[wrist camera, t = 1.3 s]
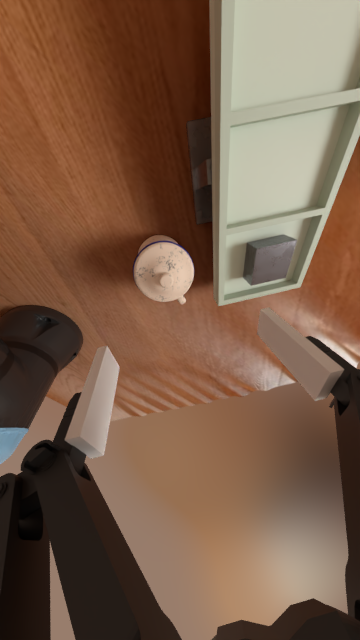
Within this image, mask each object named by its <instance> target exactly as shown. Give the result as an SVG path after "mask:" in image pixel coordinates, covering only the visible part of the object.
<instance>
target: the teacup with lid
mask: <svg viewBox="0 0 360 640" xmlns="http://www.w3.org/2000/svg"><path fill="white" fill-rule="evenodd" d="M133 277H134V281H135V283H136V285H137V287H138V288H139V290H140V291H141V292H142V293H143V294H144V295H145V296H147V297H148V298H150V299H152V300H155V301H160V302H168V301H173V300H175V299H177V300H178V302H179V303H180V304H184V303H185V302H186V299H185V297H184V294H185V293H186V292H187V291H188V289H189V288H190V286H191V284H192V281H193V278H194V264H193V261H192V259H191V257H190V255H189V253H188V252H187V251H186V250H185V249H184V248H183V247H182V246H180V245H179V244H178V243H177V242H176V241H175V240H174V239H172V238H170V237H168V236H165V235H155V236H152V237H150V238H148V239H147V240H145V241H144V242H143V243H142V245H141V246H140V248H139V251H138V255H137V257H136V259H135V261H134V265H133Z"/></svg>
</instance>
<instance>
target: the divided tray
mask: <svg viewBox="0 0 360 640" xmlns="http://www.w3.org/2000/svg"><path fill="white" fill-rule="evenodd" d="M209 5H210V75H211V146H212V216H213V287H214V299H215V301H216V303H217V304H218V306H222V305H226V304H230V303H234V302H239V301H243V300H247V299H252V298H256V297H260V296H265V295H269V294H273V293H277V292H282V291H286V290H290V289H295V288H299V287H301V284H302V282H303V279H304V277H305V274H306V271H307V269H308V266H309V264H310V261H311V259H312V256H313V254H314V251H315V248H316V246H317V243H318V241H319V238H320V236H321V233H322V231H323V228H324V225H325V223H326V220H327V218H328V215H329V213H330V210H331V207H332V205H333V202H334V200H335V197H336V195H337V192H338V190H339V187H340V184H341V182H342V179H343V177H344V174H345V172H346V169H347V166H348V164H349V161H350V159H351V156H352V154H353V151H354V149H355V146H356V143H357V141H358V138H359V136H360V0H209ZM283 234H285V235H287V236H289V237H292V238H294V239H297V243H296V246H295V249H294V253H293V256H292V259H291V262H290V266H289V269H288V272H287V275H286V278H283V279H278V280H274V281H270V282H265V283H261V284H257V285H252V286H251V285H250V284H249V283H248V282H247V281H246V280H245V279H244V278H243V271H244V262H245V254H246V245H247V242H251V241H256V240H260V239H265V238H269V237H274V236H278V235H283Z"/></svg>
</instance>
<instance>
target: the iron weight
mask: <svg viewBox="0 0 360 640" xmlns="http://www.w3.org/2000/svg"><path fill="white" fill-rule="evenodd" d="M296 243H297V239H294V238H292V237H289V236H287V235H285V234H283V235H278V236H274V237H269V238H265V239H260V240H256V241H251V242H247V245H246V254H245V262H244V271H243V278H244V279H245V280H246V281H247V282H248V283H249V284H250V285H251V286H252V285H257V284H261V283H265V282H270V281H274V280H278V279H283V278H286V275H287V272H288V269H289V266H290V262H291V259H292V256H293V253H294V249H295V246H296Z"/></svg>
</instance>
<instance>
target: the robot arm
mask: <svg viewBox="0 0 360 640" xmlns="http://www.w3.org/2000/svg"><path fill="white" fill-rule="evenodd" d="M257 334H258V336H259V337H260V338H261V339H262V340H263V341H264V343H265V344H266V345H267V346H268V347H269V348H270V349H271V351H272V352H273V353H274V354H275V355H276V356H277V358H278V359H279V360H280V361H281V362H282V363H283V364H284V366H285V367H286V368H287V369H288V370H289V371H290V373H291V374H292V375H293V376H294V377H295V378H296V379H297V381H298V382H299V383H300V384H301V385H302V386H303V387H304V389H305V390H306V391H307V392H308V393H309V394H310V396H311V397H312V398H313V399H314V400H315V401H317V400H320V399H324V398H327V397H328V395H329V394H330V392H331V393H332V394H333V395H334V396H335V397H334V399H333V400H332V402H331V404H330V406H329V407H331V408H332V407H333V405H334V409H335V419H336V429H337V439H338V450H339V459H340V470H341V480H342V490H343V501H344V511H345V521H346V531H347V541H348V554H349V556H348V562H347V565H346V572H345V582H346V594H347V606H348V614H346V613H344V612H342V611H340V610H338V609H336V608H333V607H331V606H329V605H325V604H323V603H321V602H320V601H318V600H316V599H310V600H307V601H303V602H300V603H297V604H293V605H290V606H289V607H288V608H287V609H286V611H285V612H284V613H283V614H282V615H281V616H280V617H279V618H278V619H277V620H276V621H275V622H274V623H273V624H272V625H271V626H265V625H261V624H256V623H252V622H248V621H244V620H240V621H236V622H233V623H230V624H226V625H223V626H220V627H218V629H217V635H216V636H215V637H214V638H213V639H212V640H360V370H359V369H356V368H355V367H353V366H352V365H351V364H349V363H348V362H347V361H346V360H344V359H343V358H342V357H340V356H339V355H338V354H336V353H335V352H334V351H332V350H331V349H330V348H329V347H326V345H325V344H323V343H322V342H321V341H320V340H318V339H316V338H313V337H311V336H308V337H304V336H303V335H302V334H301V333H299V332H298V331H297V330H296V329H295V328H293V327H292V326H291V325H290V324H288V323H287V322H286V321H285V320H284V319H282V318H281V317H280V316H279V315H278V314H276V313H275V312H274V311H273V310H271V309H270V308H264V309H260V315H259V323H258V331H257ZM82 344H83V336H82V333H81V331H80V329H79V327H78V326H77V325H76V324H75V323H74V322H73V321H72V320H71V319H70V318H69V317H67V316H66V315H64V314H62V313H60V312H58V311H56V310H53V309H50V308H47V307H42V306H34V305H28V306H20V307H17V308H14V309H12V310H10V311H9V312H7V313H6V314H4V315H3V316H2V317H1V318H0V464H1V463H3V462H4V461H5V460H6V459H7V458H9V457H10V456H11V455H12V454H13V452H14V451H15V449H16V447H17V446H18V444H19V442H20V441H21V439H22V438H23V436H24V435H25V434H26V433H27V432H28V430H29V429H28V428H29V426H30V425H31V423H32V421H33V419H34V417H35V415H36V413H37V411H38V409H39V407H40V406H41V404H42V402H43V400H44V398H45V396H46V394H47V392H48V390H49V389H50V387H51V385H52V383H53V381H54V379H55V377H56V375H57V374H58V373H59V372H60V371H61V370H62V369H63V368H64V367H65V366H66V365H68V364H69V363H70V362H71V361H72V360H73V359H74V358H75V357H76V356H77V355H78V353H79V351H80V349H81V347H82ZM119 368H120V367H119V365H118V364H117V362H116V360H115V358H114V357H113V355H112V353H111V352H110V350H109V348H108V346H103V347H99V348H98V349H97V351H96V354H95V357H94V360H93V363H92V365H91V368H90V371H89V374H88V376H87V379H86V382H85V385H84V387H83V390H82V392H80V393H76V394H75V395H74V396H73V397H72V399H71V400H70V401H69V404H68V406H67V408H66V412H65V413H64V416H63V419H62V421H61V423H60V426H59V428H58V431H57V433H56V436H55V438H54V440H53V442H52V441H50V440H43V441H41V442H39V443H37V444H36V445H34V446H33V447H32V448H31V450H30V451H29V452H28V453H27V454H26V456H25V457H24V459H23V461H22V464H21V471H23V472H21V473H20V474H18V475H15V474H13V473H8V474H5V475H3V476H1V477H0V640H50V549H49V548H50V544H49V543H50V542H51V546H52V550H53V554H54V558H55V562H56V566H57V570H58V573H59V577H60V581H61V585H62V589H63V593H64V597H65V601H66V604H67V608H68V612H69V615H70V620H71V624H72V628H73V631H74V635H75V639H76V640H182V639H181V638H180V636H179V634H178V632H177V630H176V628H175V627H174V625H173V623H172V622H171V621H170V619H169V618H168V617H167V616H166V615H165V614H164V613H163V611H162V610H161V608H160V606H159V605H158V603H157V601H156V599H155V597H154V595H153V593H152V591H151V589H150V587H149V585H148V583H147V581H146V579H145V578H144V575H143V573H142V571H141V570H140V568H139V566H138V564H137V562H136V560H135V558H134V556H133V554H132V552H131V550H130V548H129V546H128V544H127V543H126V540H125V538H124V537H123V535H122V533H121V531H120V529H119V527H118V525H117V523H116V521H115V519H114V517H113V515H112V513H111V511H110V510H109V507H108V505H107V504H106V502H105V500H104V498H103V496H102V494H101V492H100V490H99V488H98V486H97V484H96V482H95V480H94V478H93V476H92V474H91V473H90V471H89V469H88V467H87V465H86V464H85V463H84V462H85V458H86V456H88V457H89V458H91V459H92V458H96V457H99V456H103V455H104V452H105V446H106V441H107V435H108V429H109V424H110V418H111V413H112V407H113V402H114V396H115V390H116V385H117V379H118V374H119Z"/></svg>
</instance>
